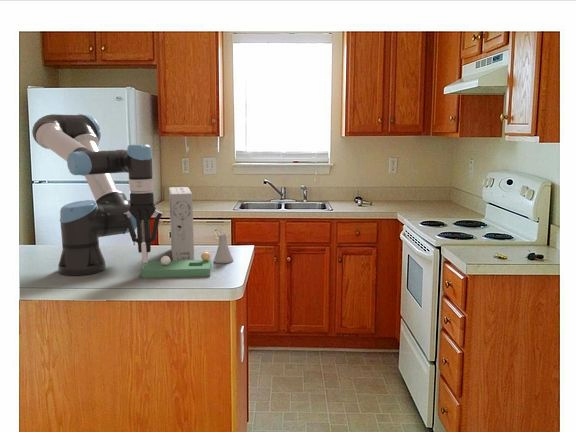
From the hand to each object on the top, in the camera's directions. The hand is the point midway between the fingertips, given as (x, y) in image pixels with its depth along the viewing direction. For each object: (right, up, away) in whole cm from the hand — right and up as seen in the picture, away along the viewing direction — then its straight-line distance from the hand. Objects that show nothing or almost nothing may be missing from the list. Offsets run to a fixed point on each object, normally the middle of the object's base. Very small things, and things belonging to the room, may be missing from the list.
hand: (145, 261), depth 177 cm
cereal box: (+7, 0, +26) cm, 27 cm away
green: (+11, -4, +2) cm, 11 cm away
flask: (+24, -1, +16) cm, 29 cm away
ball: (+7, 0, +1) cm, 7 cm away
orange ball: (+19, +1, +7) cm, 20 cm away
